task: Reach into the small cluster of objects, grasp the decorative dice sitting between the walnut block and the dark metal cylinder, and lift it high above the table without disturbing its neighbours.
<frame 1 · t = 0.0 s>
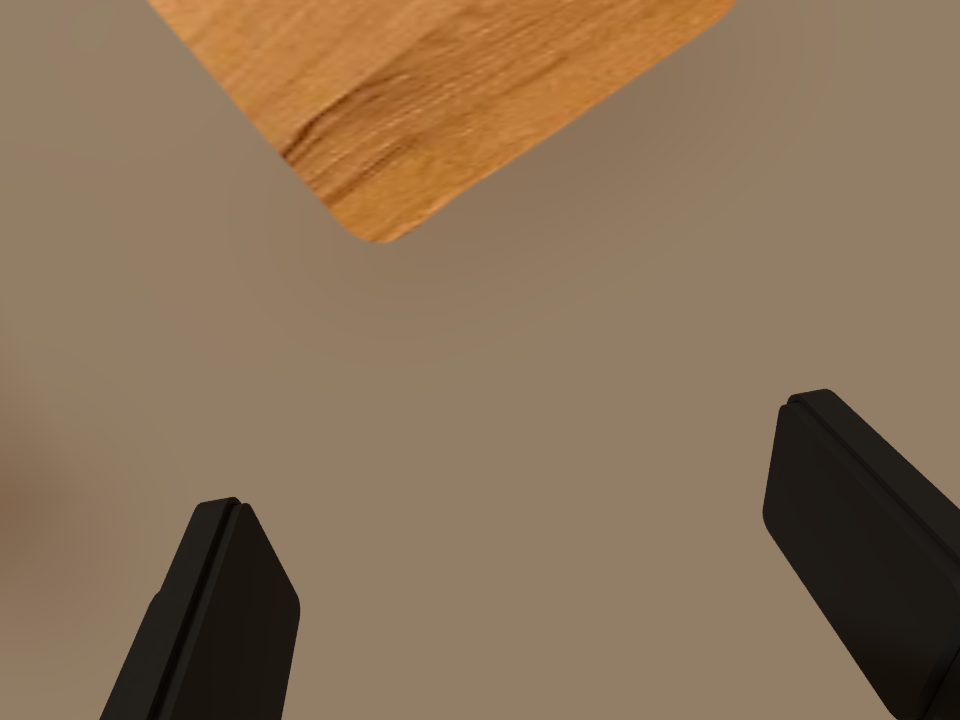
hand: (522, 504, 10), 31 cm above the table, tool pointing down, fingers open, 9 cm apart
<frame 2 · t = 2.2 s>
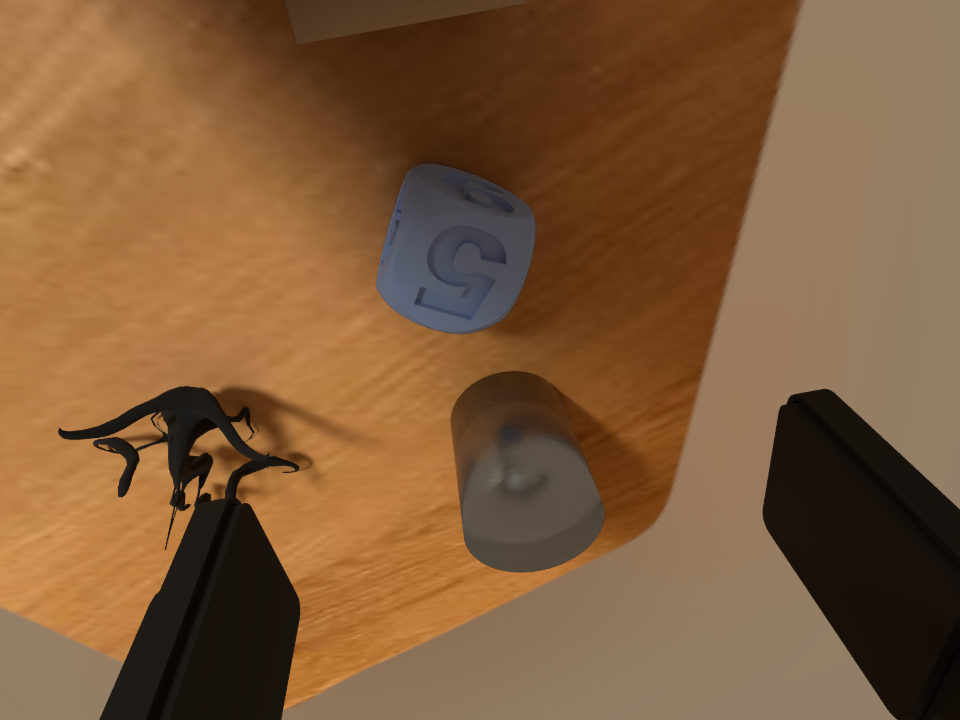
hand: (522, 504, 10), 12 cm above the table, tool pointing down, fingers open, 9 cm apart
dark metal cylinder: (507, 418, 25), on the table
creature: (207, 429, 24), on the table
decorative dice: (448, 224, 20), on the table
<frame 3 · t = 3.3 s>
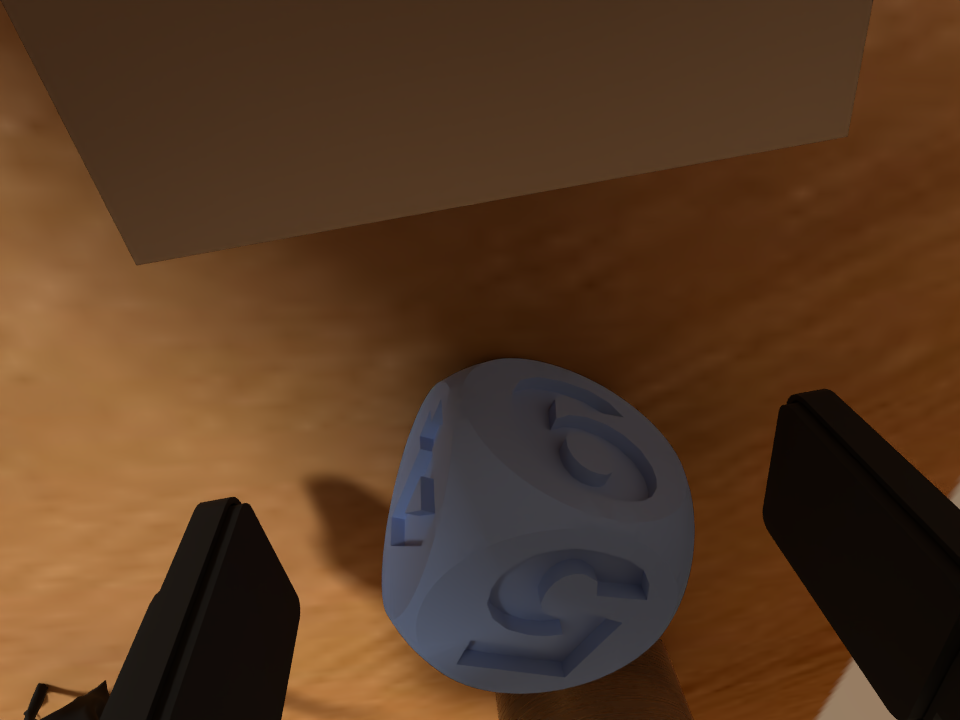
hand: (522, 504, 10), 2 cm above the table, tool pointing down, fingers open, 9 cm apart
dark metal cylinder: (581, 674, 16), on the table
creature: (119, 709, 16), on the table
decorative dice: (507, 435, 12), on the table
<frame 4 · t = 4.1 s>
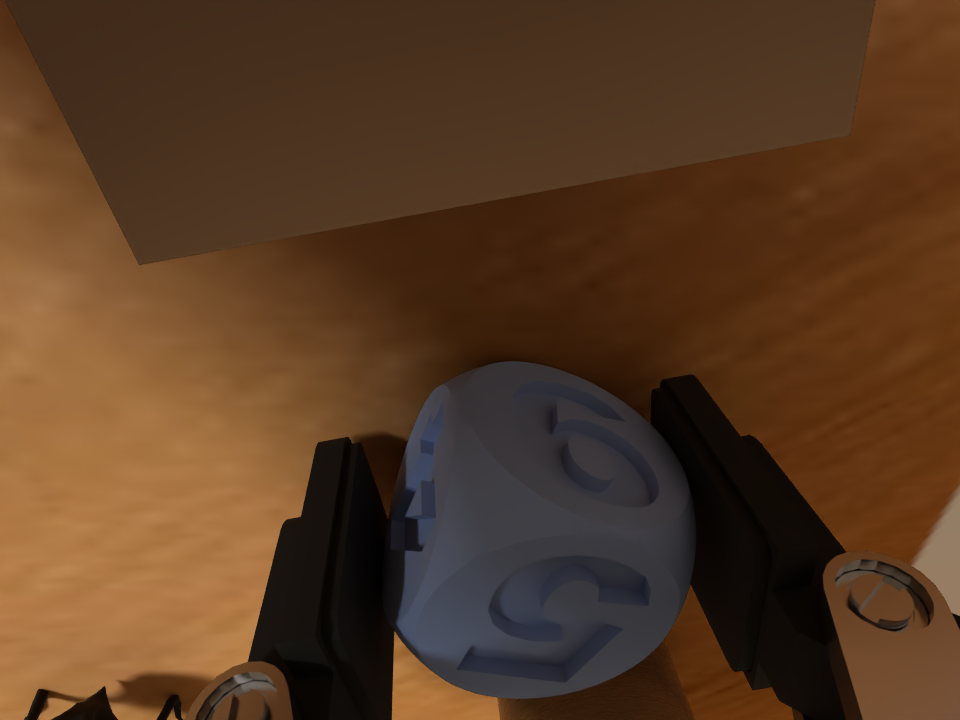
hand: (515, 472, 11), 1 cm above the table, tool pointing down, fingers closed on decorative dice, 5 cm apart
dark metal cylinder: (582, 675, 16), on the table
creature: (119, 714, 16), on the table
decorative dice: (508, 437, 12), on the table, touching gripper
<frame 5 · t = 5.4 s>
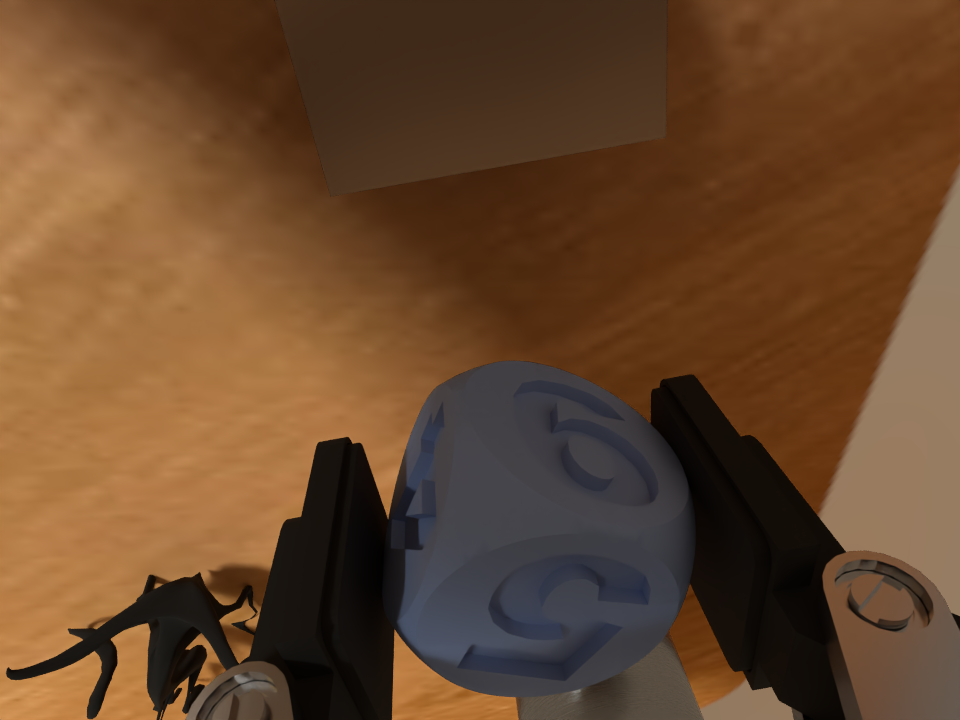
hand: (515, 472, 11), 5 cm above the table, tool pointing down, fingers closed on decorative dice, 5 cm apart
dark metal cylinder: (570, 576, 21), on the table
creature: (203, 605, 20), on the table
decorative dice: (508, 437, 12), point 4 cm above the table, touching gripper
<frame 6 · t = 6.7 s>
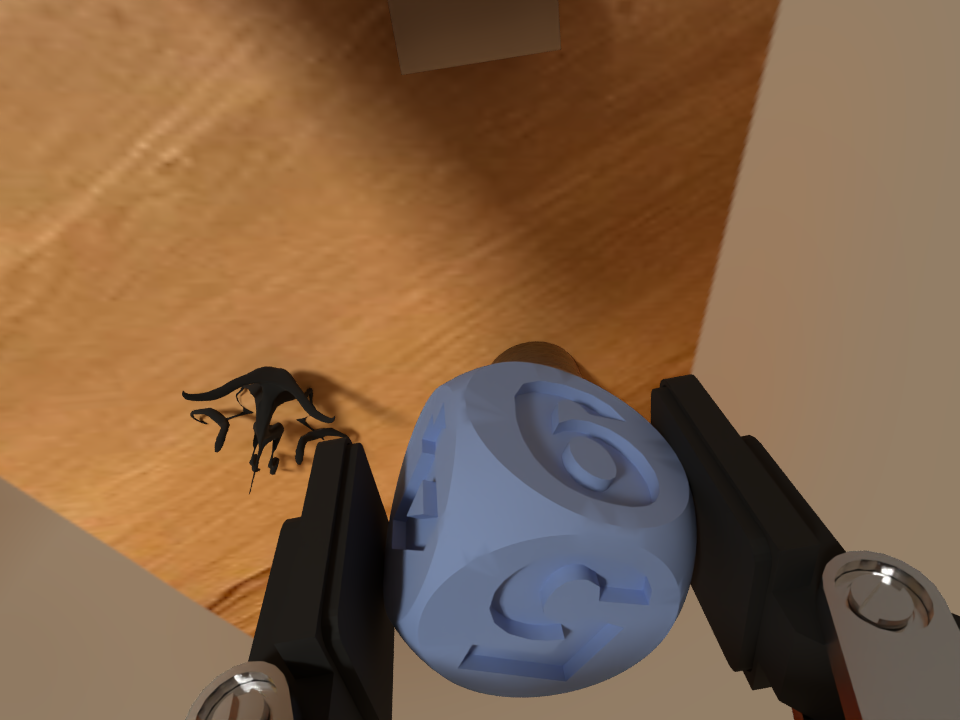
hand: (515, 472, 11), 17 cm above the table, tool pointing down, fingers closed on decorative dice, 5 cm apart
dark metal cylinder: (531, 383, 30), on the table
creature: (277, 406, 30), on the table
decorative dice: (509, 437, 12), point 16 cm above the table, touching gripper
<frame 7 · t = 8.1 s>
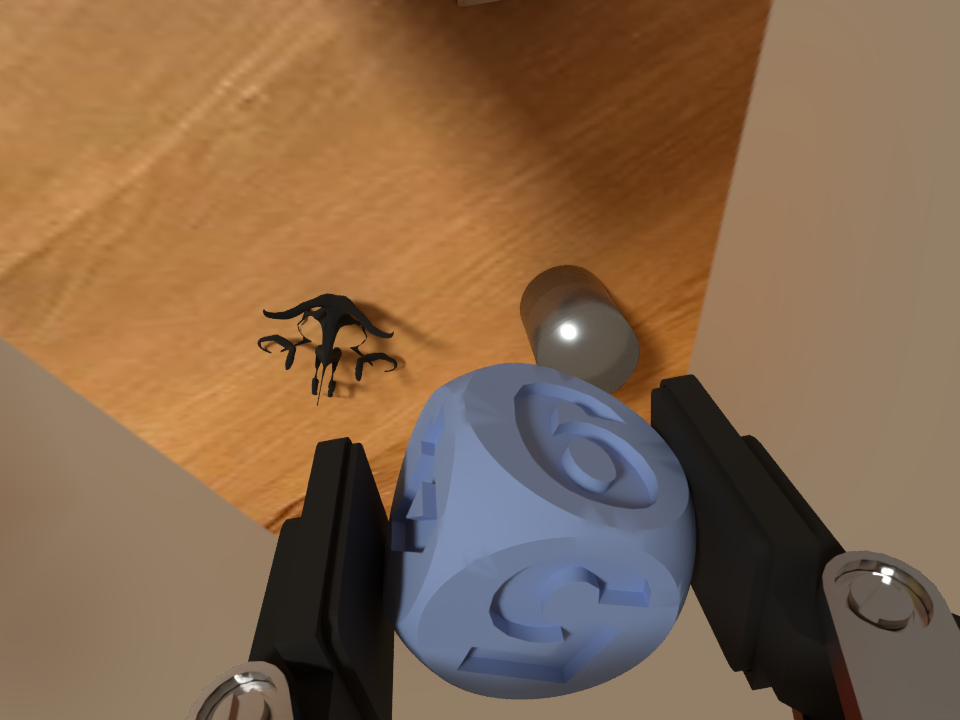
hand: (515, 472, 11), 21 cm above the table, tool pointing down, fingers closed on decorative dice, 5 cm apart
dark metal cylinder: (562, 305, 33), on the table
creature: (332, 336, 33), on the table
decorative dice: (508, 439, 12), point 20 cm above the table, touching gripper
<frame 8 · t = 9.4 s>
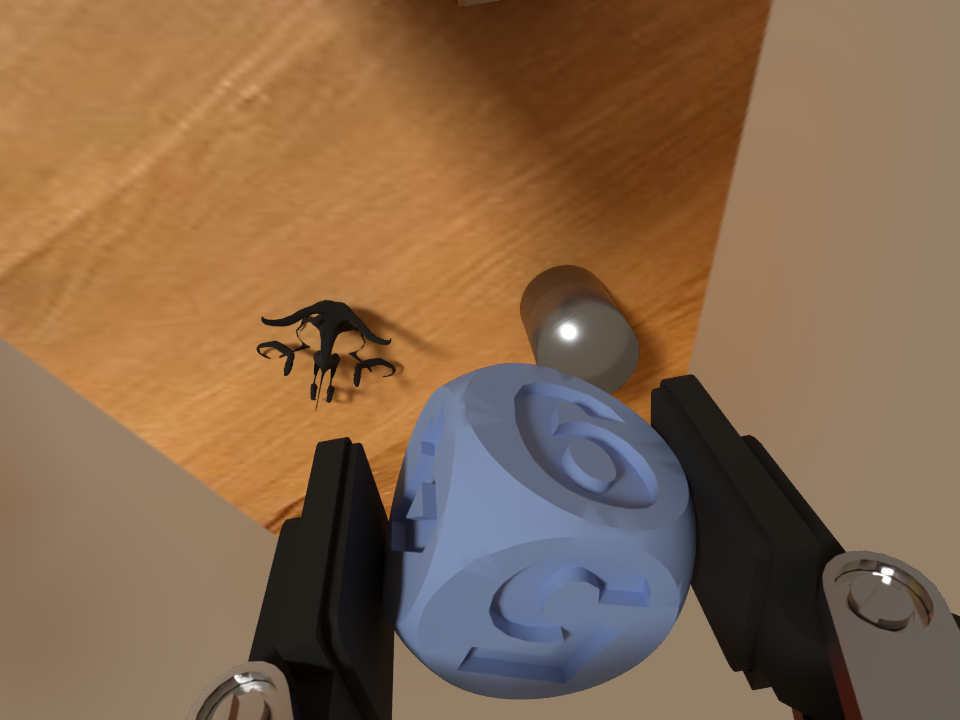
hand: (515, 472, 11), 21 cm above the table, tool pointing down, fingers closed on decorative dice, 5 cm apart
dark metal cylinder: (562, 305, 33), on the table
creature: (331, 341, 34), on the table
decorative dice: (508, 439, 12), point 20 cm above the table, touching gripper
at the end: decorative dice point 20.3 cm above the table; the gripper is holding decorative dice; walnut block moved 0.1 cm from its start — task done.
